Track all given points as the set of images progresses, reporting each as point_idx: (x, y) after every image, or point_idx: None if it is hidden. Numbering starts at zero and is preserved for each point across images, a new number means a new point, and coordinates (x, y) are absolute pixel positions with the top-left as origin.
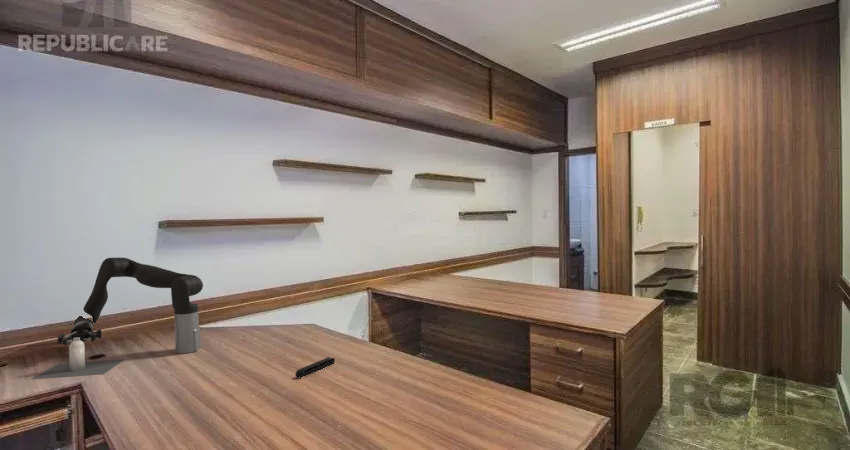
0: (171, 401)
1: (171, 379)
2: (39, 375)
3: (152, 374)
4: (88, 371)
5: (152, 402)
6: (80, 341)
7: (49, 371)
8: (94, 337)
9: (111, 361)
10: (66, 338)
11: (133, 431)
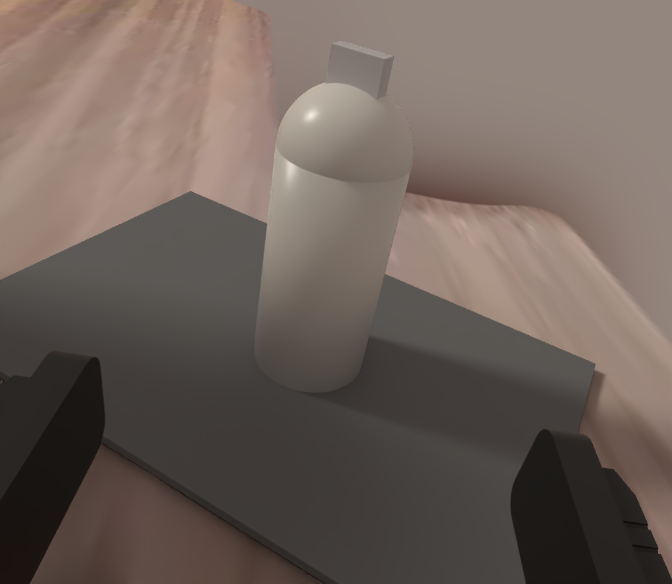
0: (119, 18)
1: (14, 57)
2: (563, 398)
3: (21, 102)
4: (249, 264)
5: (155, 31)
6: (319, 85)
7: (519, 441)
8: (23, 386)
9: (34, 343)
10: (599, 548)
11: (235, 13)
